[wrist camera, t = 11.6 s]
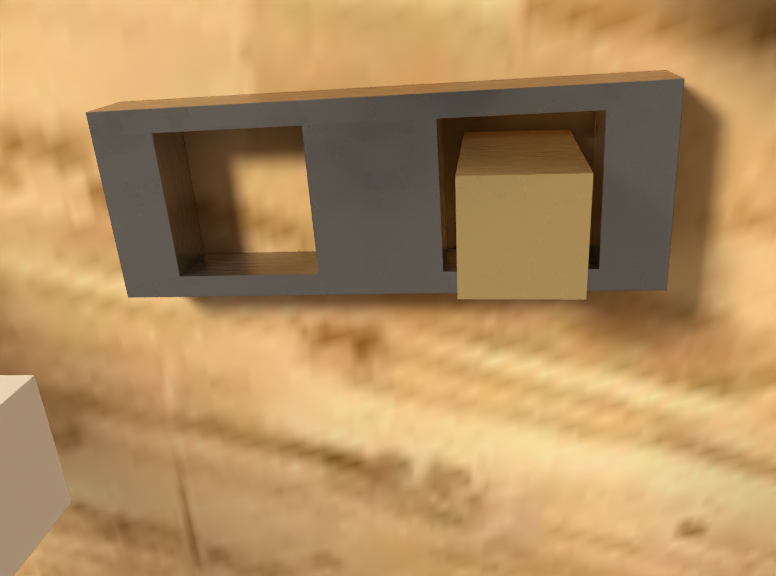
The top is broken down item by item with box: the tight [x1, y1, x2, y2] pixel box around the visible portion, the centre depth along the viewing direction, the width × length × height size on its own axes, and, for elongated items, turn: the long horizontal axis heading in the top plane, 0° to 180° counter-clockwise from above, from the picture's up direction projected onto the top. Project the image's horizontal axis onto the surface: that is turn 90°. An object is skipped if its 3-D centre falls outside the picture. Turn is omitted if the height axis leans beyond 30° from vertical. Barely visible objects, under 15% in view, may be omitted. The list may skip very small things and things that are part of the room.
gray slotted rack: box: [86, 70, 684, 297], centre depth 31 cm, size 24×8×3 cm, turn 94°
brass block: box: [455, 129, 593, 300], centre depth 28 cm, size 4×4×8 cm
